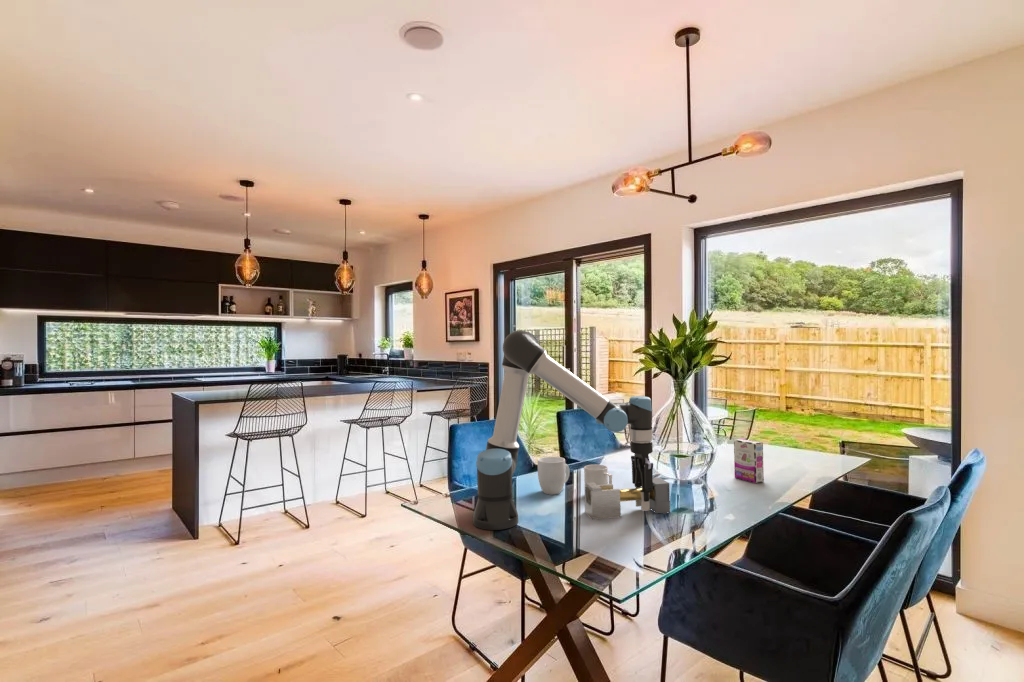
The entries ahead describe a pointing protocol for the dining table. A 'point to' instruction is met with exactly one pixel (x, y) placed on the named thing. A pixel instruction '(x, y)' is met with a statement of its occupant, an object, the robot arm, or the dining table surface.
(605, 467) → the mug
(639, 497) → the tube
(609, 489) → the grey tube holder
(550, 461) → the mug
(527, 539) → the dining table surface
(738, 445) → the candy bar box
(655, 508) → the socket
